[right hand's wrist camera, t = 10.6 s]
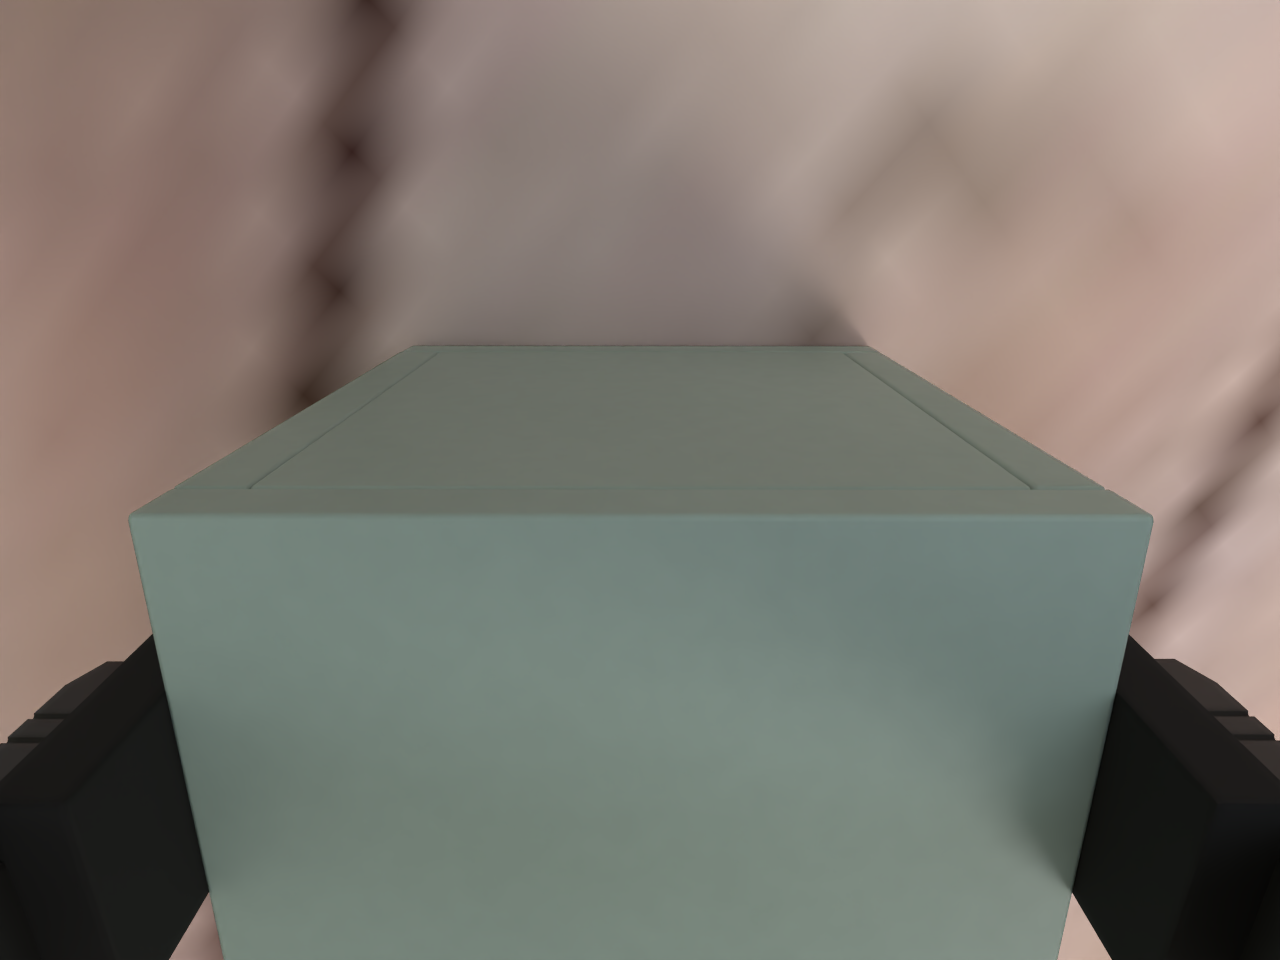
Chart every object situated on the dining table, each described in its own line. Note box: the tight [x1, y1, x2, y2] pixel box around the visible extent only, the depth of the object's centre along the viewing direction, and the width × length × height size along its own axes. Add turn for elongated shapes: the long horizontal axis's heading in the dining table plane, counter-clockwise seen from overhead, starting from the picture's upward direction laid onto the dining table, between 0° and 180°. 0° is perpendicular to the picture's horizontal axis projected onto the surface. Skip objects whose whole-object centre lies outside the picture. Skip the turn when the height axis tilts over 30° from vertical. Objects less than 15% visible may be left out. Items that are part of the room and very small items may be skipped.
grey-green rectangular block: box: [128, 346, 1153, 960], centre depth 15 cm, size 17×10×10 cm, turn 0°
